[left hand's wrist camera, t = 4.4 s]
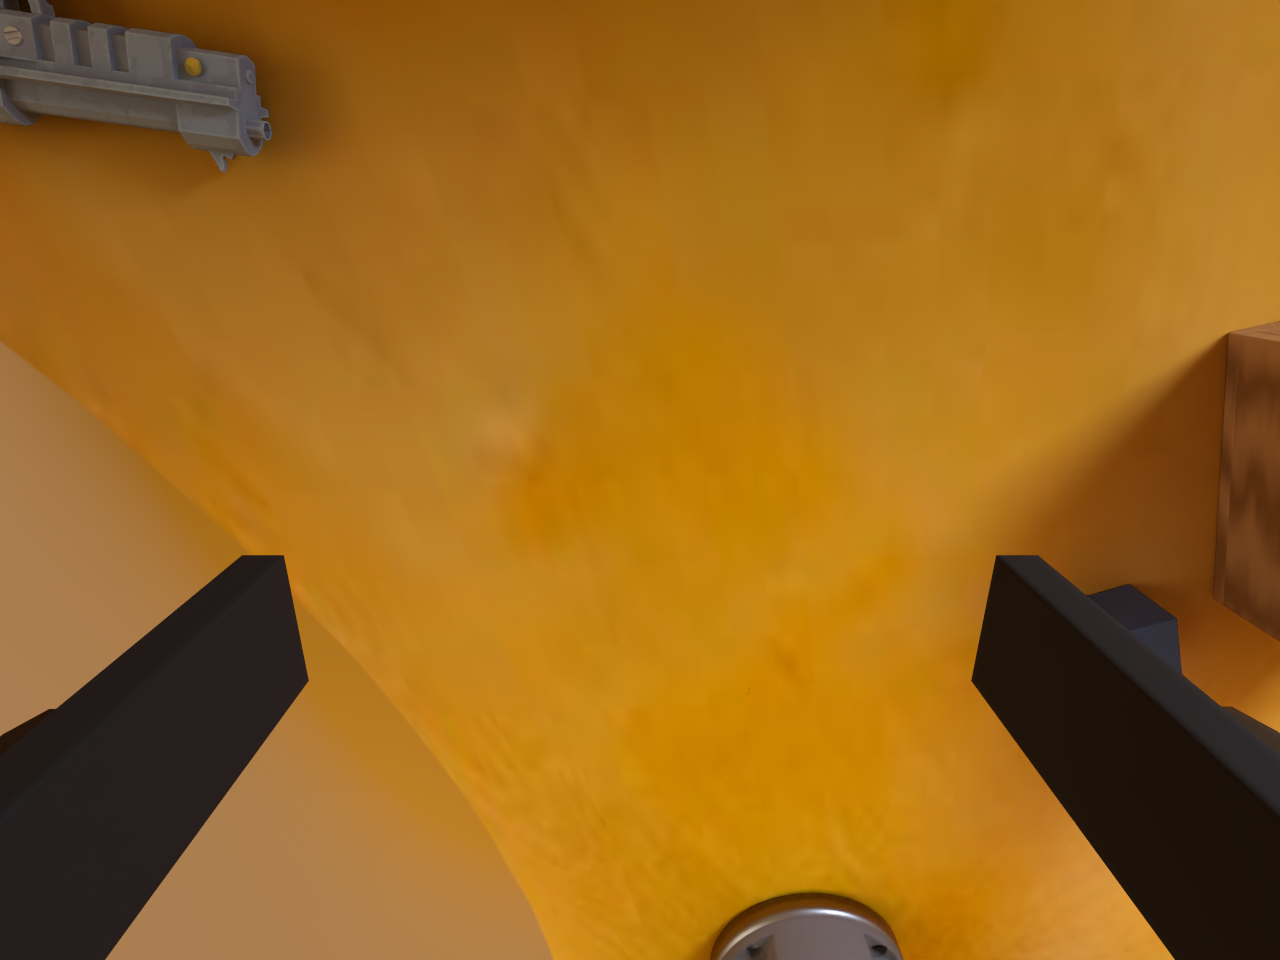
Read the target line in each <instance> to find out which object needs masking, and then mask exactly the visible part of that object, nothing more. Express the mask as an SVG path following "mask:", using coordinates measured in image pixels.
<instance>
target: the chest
mask: <svg viewBox="0 0 1280 960" xmlns="http://www.w3.org/2000/svg"><path fill="white" fill-rule="evenodd" d="M1213 598H1214V599H1215V600H1217V601H1218V602H1220V603H1221V604H1223V605H1224V606H1225V607H1227V608H1228V609H1230V610H1232V611H1233V612H1235V613H1236V614H1238V615H1239V616H1241V617H1242V618H1244V619H1245V620H1247V621H1248V622H1250V623H1252V624H1253V625H1255V626H1256V627H1258V628H1259V629H1261V630H1262V631H1264V632H1265V633H1267V634H1268V635H1270V636H1272V637H1273V638H1275V639H1276V640H1278V641H1279V642H1280V321H1279V322H1274V323H1270V324H1265V325H1261V326H1256V327H1252V328H1247V329H1243V330H1239V331H1234V332H1230V333H1229V334H1228V350H1227V367H1226V385H1225V402H1224V419H1223V437H1222V454H1221V472H1220V489H1219V506H1218V524H1217V541H1216V559H1215V576H1214V593H1213Z"/></svg>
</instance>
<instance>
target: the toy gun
mask: <svg viewBox="0 0 1280 960" xmlns="http://www.w3.org/2000/svg"><path fill="white" fill-rule="evenodd" d="M28 2H29V4H30V8H31V12H32V13H28V12H21V10H20V6H19V2H18V0H0V122H1V123H9V124H16V125H23V126H28V125H31V124H34V123H36V122H37V121H38V119H39V118H40V117H41V116H42V115H43V114H48V115H55V116H62V117H69V118H77V119H84V120H91V121H99V122H106V123H113V124H120V125H128V126H135V127H142V128H149V129H157V130H164V131H171V132H179V133H181V135H182V136H183V138H184V139H185V141H186V142H187V143H188V144H189V145H190V146H191V147H193V148H194V149H199V150H206V151H209V152H210V154H211V155H212V157H213V159H214V160H215V162H216V163H217V165H218V167H219V168H220V170H221V171H222V172H226V170H227V162H226V160H225V157H227V158H229V159H233V160H234V159H235V157H236V155H243V156H250V157H253V156H255V155H256V154H258V153H259V151H260V149H261V147H262V145H263V140H270V139H271V135H272V131H271V127H270V124H269V123H268V122H267V121H262V118H265V117H269V113H268V110H267V109H265V108H262V107H261V97H260V96H259V95H257V93H256V77H255V65H254V64H253V62H252V61H251V59H250V58H248V57H247V56H246V55H240V54H233V53H226V52H219V51H212V50H205V49H198V48H197V46H196V45H195V44H194V43H193V41H192V40H191V39H189V38H188V37H186V36H185V35H180V34H173V33H166V32H159V31H152V30H145V29H138V28H131V29H129V30H128V29H126V28H125V27H123V26H118V25H111V24H104V23H96V22H95V23H93V24H91V23H89V22H87V21H83V20H76V19H69V18H62V17H58V18H56V17H55V13H54V9H53V6H52V5H50V4H48V2H47V0H28Z"/></svg>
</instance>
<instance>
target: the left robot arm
mask: <svg viewBox="0 0 1280 960" xmlns="http://www.w3.org/2000/svg"><path fill="white" fill-rule="evenodd" d="M308 681H309V680H308V675H307V670H306V665H305V660H304V655H303V650H302V645H301V640H300V635H299V630H298V625H297V620H296V615H295V610H294V605H293V600H292V595H291V589H290V584H289V579H288V574H287V569H286V564H285V559H284V555H242V556H241V557H240V558H238V559H237V560H236V561H235V562H234V563H232V564H231V565H230V566H229V567H227V568H226V569H225V570H224V571H223V572H222V573H220V574H219V575H218V576H217V577H215V578H214V579H213V580H212V581H211V582H209V583H208V584H207V585H206V586H204V587H203V588H202V589H201V590H200V591H198V592H197V593H196V594H195V595H194V596H192V597H191V598H190V599H189V600H188V601H186V602H185V603H184V604H183V605H181V606H180V607H179V608H178V609H177V610H175V611H174V612H173V613H172V614H171V615H169V616H168V617H167V618H166V619H164V620H163V621H162V622H161V623H160V624H158V625H157V626H156V627H155V628H154V629H152V630H151V631H150V632H149V633H148V634H146V635H145V636H144V637H143V638H141V639H140V640H139V641H138V642H137V643H135V644H134V645H133V646H132V647H131V648H129V649H128V650H127V651H126V652H125V653H123V654H122V655H121V656H120V657H118V658H117V659H116V660H115V661H114V662H112V663H111V664H110V665H109V666H108V667H106V668H105V669H104V670H103V671H102V672H100V673H99V674H98V675H97V676H95V677H94V678H93V679H92V680H91V681H89V682H88V683H87V684H86V685H85V686H83V687H82V688H81V689H80V690H79V691H77V692H76V693H75V694H74V695H72V696H71V697H70V698H69V699H68V700H66V701H65V702H64V703H63V704H62V705H60V706H59V707H58V708H57V709H49V710H47V711H45V712H43V713H41V714H39V715H38V716H36V717H34V718H32V719H30V720H28V721H27V722H25V723H23V724H21V725H19V726H17V727H16V728H14V729H12V730H10V731H8V732H6V733H5V734H3V735H2V736H0V960H105V959H106V958H107V956H108V955H109V954H110V952H111V951H112V949H113V948H114V947H115V945H116V944H117V943H118V941H119V940H120V938H121V937H122V936H123V934H124V933H125V932H126V930H127V929H128V927H129V926H130V925H131V923H132V922H133V921H134V919H135V918H136V916H137V915H138V914H139V912H140V911H141V910H142V908H143V907H144V906H145V904H146V903H147V901H148V900H149V899H150V897H151V896H152V895H153V893H154V892H155V890H156V889H157V888H158V886H159V885H160V884H161V882H162V881H163V880H164V878H165V877H166V875H167V874H168V873H169V871H170V870H171V869H172V867H173V866H174V864H175V863H176V862H177V860H178V859H179V858H180V856H181V855H182V853H183V852H184V851H185V849H186V848H187V847H188V845H189V844H190V843H191V841H192V840H193V838H194V837H195V836H196V834H197V833H198V832H199V830H200V829H201V827H202V826H203V825H204V823H205V822H206V821H207V819H208V818H209V816H210V815H211V814H212V812H213V811H214V810H215V808H216V807H217V806H218V804H219V803H220V801H221V800H222V799H223V797H224V796H225V795H226V793H227V792H228V791H229V789H230V788H231V786H232V785H233V784H234V782H235V781H236V780H237V778H238V777H239V775H240V774H241V773H242V771H243V770H244V769H245V767H246V766H247V765H248V763H249V762H250V760H251V759H252V758H253V756H254V755H255V754H256V752H257V751H258V749H259V748H260V747H261V745H262V744H263V743H264V741H265V740H266V738H267V737H268V736H269V734H270V733H271V732H272V730H273V729H274V728H275V726H276V725H277V723H278V722H279V721H280V719H281V718H282V717H283V715H284V714H285V712H286V711H287V710H288V708H289V707H290V705H291V704H292V703H293V702H294V700H295V699H296V697H297V696H298V695H299V693H300V692H301V691H302V689H303V688H304V686H305V685H306V684H307V682H308ZM971 681H972V682H973V684H974V685H975V686H976V688H977V689H978V691H979V692H980V693H981V695H982V696H983V697H984V699H985V700H986V702H987V703H988V704H989V706H990V707H991V708H992V710H993V711H994V712H995V714H996V715H997V717H998V718H999V719H1000V721H1001V722H1002V723H1003V725H1004V726H1005V728H1006V729H1007V730H1008V732H1009V733H1010V734H1011V736H1012V737H1013V738H1014V740H1015V741H1016V743H1017V744H1018V745H1019V747H1020V748H1021V749H1022V751H1023V752H1024V754H1025V755H1026V756H1027V758H1028V759H1029V760H1030V762H1031V763H1032V765H1033V766H1034V767H1035V769H1036V770H1037V771H1038V773H1039V774H1040V775H1041V777H1042V778H1043V780H1044V781H1045V782H1046V784H1047V785H1048V786H1049V788H1050V789H1051V791H1052V792H1053V793H1054V795H1055V796H1056V797H1057V799H1058V800H1059V801H1060V803H1061V804H1062V806H1063V807H1064V808H1065V810H1066V811H1067V812H1068V814H1069V815H1070V817H1071V818H1072V819H1073V821H1074V822H1075V823H1076V825H1077V826H1078V828H1079V829H1080V830H1081V832H1082V833H1083V834H1084V836H1085V837H1086V838H1087V840H1088V841H1089V843H1090V844H1091V845H1092V847H1093V848H1094V849H1095V851H1096V852H1097V854H1098V855H1099V856H1100V858H1101V859H1102V860H1103V862H1104V863H1105V864H1106V866H1107V867H1108V869H1109V870H1110V871H1111V873H1112V874H1113V875H1114V877H1115V878H1116V880H1117V881H1118V882H1119V884H1120V885H1121V886H1122V888H1123V889H1124V891H1125V892H1126V893H1127V895H1128V896H1129V897H1130V899H1131V900H1132V901H1133V903H1134V904H1135V906H1136V907H1137V908H1138V910H1139V911H1140V912H1141V914H1142V915H1143V917H1144V918H1145V919H1146V921H1147V922H1148V923H1149V925H1150V926H1151V927H1152V929H1153V930H1154V932H1155V933H1156V934H1157V936H1158V937H1159V938H1160V940H1161V941H1162V943H1163V944H1164V945H1165V947H1166V948H1167V949H1168V951H1169V952H1170V954H1171V955H1172V956H1173V958H1174V959H1175V960H1280V733H1279V732H1277V731H1275V730H1274V729H1272V728H1270V727H1268V726H1266V725H1264V724H1263V723H1261V722H1259V721H1257V720H1255V719H1253V718H1252V717H1250V716H1248V715H1246V714H1244V713H1242V712H1240V711H1239V710H1237V709H1235V708H1233V707H1221V706H1220V705H1218V704H1217V703H1216V702H1215V701H1214V700H1212V699H1211V698H1210V697H1209V696H1208V695H1206V694H1205V693H1204V692H1203V691H1202V690H1200V689H1199V688H1198V687H1197V686H1195V685H1194V684H1193V683H1192V682H1191V681H1189V680H1188V679H1187V678H1186V677H1185V676H1183V675H1182V674H1181V673H1180V672H1178V671H1177V670H1176V669H1175V668H1174V667H1172V666H1171V665H1170V664H1169V663H1168V662H1166V661H1165V660H1164V659H1163V658H1162V657H1160V656H1159V655H1158V654H1157V653H1155V652H1154V651H1153V650H1152V649H1151V648H1149V647H1148V646H1147V645H1146V644H1145V643H1143V642H1142V641H1141V640H1140V639H1139V638H1137V637H1136V636H1135V635H1134V634H1132V633H1131V632H1130V631H1129V630H1128V629H1126V628H1125V627H1124V626H1123V625H1122V624H1120V623H1119V622H1118V621H1117V620H1116V619H1114V618H1113V617H1112V616H1111V615H1109V614H1108V613H1107V612H1106V611H1105V610H1103V609H1102V608H1101V607H1100V606H1099V605H1097V604H1096V603H1095V602H1094V601H1092V600H1091V599H1090V598H1089V597H1088V596H1086V595H1085V594H1084V593H1083V592H1082V591H1080V590H1079V589H1078V588H1077V587H1076V586H1074V585H1073V584H1072V583H1071V582H1069V581H1068V580H1067V579H1066V578H1065V577H1063V576H1062V575H1061V574H1060V573H1059V572H1057V571H1056V570H1055V569H1054V568H1053V567H1051V566H1050V565H1049V564H1048V563H1046V562H1045V561H1044V560H1043V559H1042V558H1040V557H1039V556H1038V555H996V559H995V564H994V569H993V574H992V579H991V584H990V589H989V595H988V600H987V605H986V610H985V615H984V620H983V625H982V630H981V635H980V640H979V645H978V650H977V655H976V660H975V665H974V670H973V675H972V680H971ZM710 960H903V957H902V954H901V952H900V949H899V946H898V943H897V941H896V938H895V935H894V933H893V931H892V929H891V928H890V926H889V925H888V924H887V922H886V921H885V920H884V919H883V918H882V917H881V916H880V915H879V914H878V913H876V912H875V911H873V910H872V909H870V908H869V907H867V906H865V905H863V904H861V903H859V902H857V901H854V900H851V899H849V898H845V897H841V896H836V895H831V894H822V893H801V894H792V895H787V896H782V897H778V898H774V899H771V900H768V901H765V902H762V903H760V904H758V905H755V906H754V907H752V908H750V909H748V910H746V911H745V912H743V913H741V914H740V915H739V916H737V917H736V918H735V919H734V920H732V921H731V922H730V923H729V924H728V925H727V926H726V927H725V928H724V930H723V931H722V932H721V934H720V935H719V936H718V938H717V940H716V942H715V944H714V946H713V949H712V953H711V959H710Z"/></svg>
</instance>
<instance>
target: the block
mask: <svg viewBox="0 0 1280 960" xmlns="http://www.w3.org/2000/svg"><path fill="white" fill-rule="evenodd" d="M1088 597H1089V598H1090V599H1091V600H1092V601H1094V602H1095V603H1096V604H1097V605H1099V606H1100V607H1101V608H1102V609H1103V610H1105V611H1106V612H1107V613H1108V614H1109V615H1111V616H1112V617H1113V618H1114V619H1116V620H1117V621H1118V622H1119V623H1120V624H1122V625H1123V626H1124V627H1125V628H1126V629H1128V630H1129V631H1130V632H1131V633H1132V634H1134V635H1135V636H1136V637H1137V638H1139V639H1140V640H1141V641H1142V642H1143V643H1145V644H1146V645H1147V646H1148V647H1149V648H1151V649H1152V650H1153V651H1154V652H1155V653H1157V654H1158V655H1159V656H1160V657H1162V658H1163V659H1164V660H1165V661H1166V662H1168V663H1169V664H1170V665H1171V666H1172V667H1174V668H1175V669H1176V670H1177V671H1178V672H1180V673H1181V674H1182V670H1181V659H1180V648H1179V638H1178V627H1177V618H1175V617H1174V616H1173V615H1171V614H1170V613H1169V612H1167V611H1166V610H1164V609H1163V608H1162V607H1160V606H1159V605H1158V604H1156V603H1155V602H1154V601H1152V600H1151V599H1149V598H1148V597H1147V596H1145V595H1144V594H1143V593H1141V592H1140V591H1138V590H1137V589H1136V588H1134V587H1133V586H1132V585H1130V584H1128V585H1124V586H1121V587H1117V588H1114V589H1110V590H1107V591H1103V592H1100V593H1096V594H1093V595H1089V596H1088Z"/></svg>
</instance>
